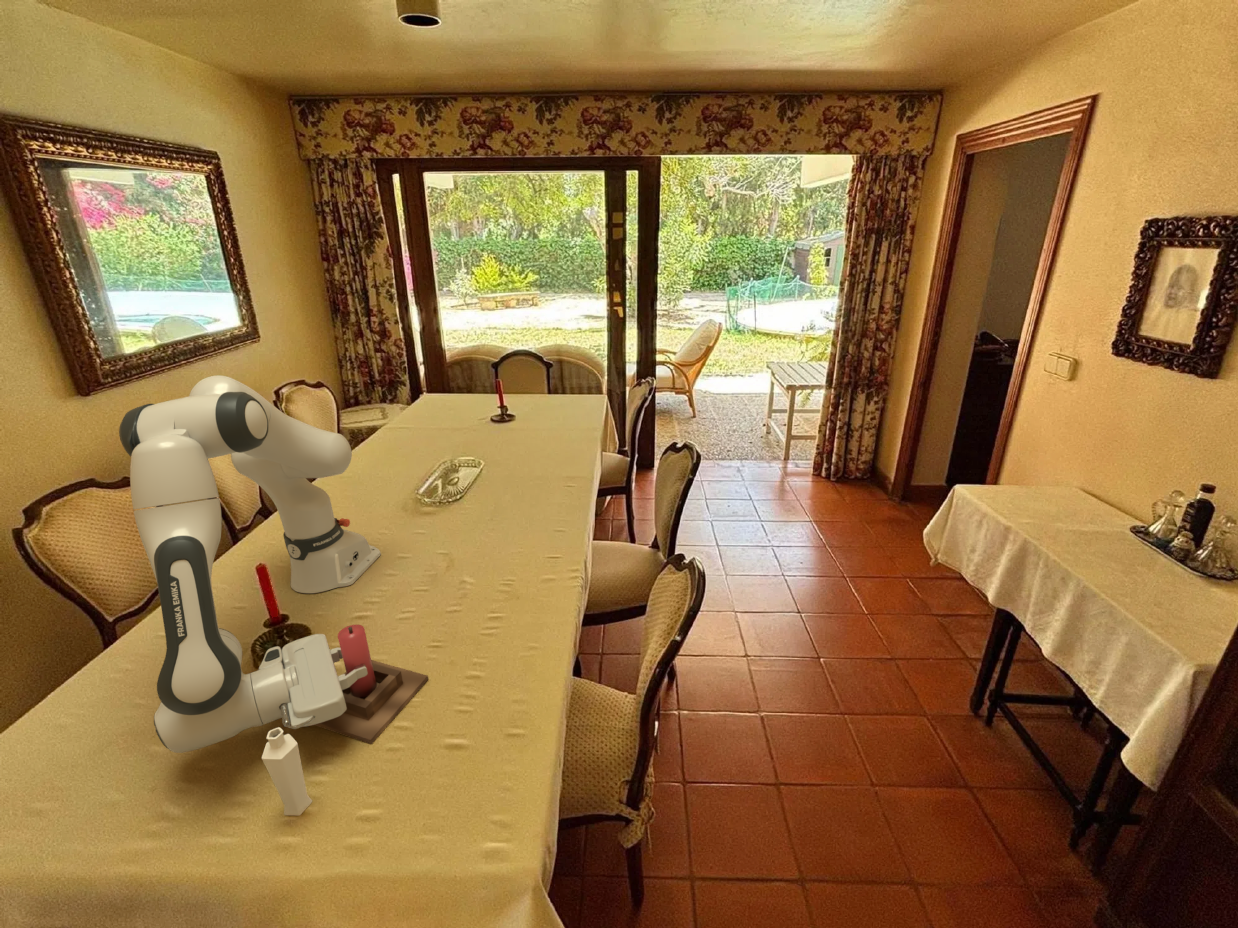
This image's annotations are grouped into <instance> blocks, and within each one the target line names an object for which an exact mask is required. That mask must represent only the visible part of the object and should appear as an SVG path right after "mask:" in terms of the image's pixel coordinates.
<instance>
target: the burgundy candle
mask: <svg viewBox="0 0 1238 928" xmlns="http://www.w3.org/2000/svg"><path fill="white" fill-rule="evenodd" d="M337 640H338V643H339V648H341V652H342V656H343V658H342V660H343V665H344V668H345V672H346V673H347V674H349V673H350V672H352V671H353V670H354V669H355V668H354V666H357V665H360V664H362V663H363V664H365V666H366V668H367V672H368V674H367V675H366V676H364V677H362V678H359V679H358V680H357V681H355V682H354V683H353V684H352V685H351V686H350V689H351V694H352V695H353V696H354V697H357V698H361V697H366V696H368V695H370V694H371V693H372V692H373V691H374V690H375V689H376V687H377V684H376V679H375V675H374V670H373V666H372V661H371V660H372V657H371V652H370V648H369V644H368V643H369V642H368V640H367V634H366V630H365V627H364V626H363V625H361V624H351V625H347V626H345V627H344V628H342V629H341V630H339V632H338V633H337Z"/></svg>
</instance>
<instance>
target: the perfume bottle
mask: <svg viewBox="0 0 1238 928" xmlns="http://www.w3.org/2000/svg"><path fill="white" fill-rule="evenodd" d="M265 739H266V740H267V742H266V744H265V745H264V746H265V747H264V749H263V753H262V755H261V760H262V762H263V764H264V766H265V767H266V770H267V772H268V774H269V777H270V778H271V781H272V783H273V785H274V787H275V789H276V791H277V792H278V795H279V797H280V799H281V801H282V803H283V805H284V806H283V809H284V810H283V815H284V816H301V815H302V813H304V812H305V810H306V809H307V808H308V807H309V806H310V805H311V804H312V803H313V799H312V798H311V797H310V796H309V795H308V792H307V786H306V782H305V781H306V780H305V776H304V771H303V766H302V760H301V756H300V755H301V754H300V751H299V750H300V748H299V745H298V742H297V740H295V738H294V737H293V736H292V735H291V734H290V733H286V734H284V730H283V729H282V728H281V727H279V726H278V727H275V728H273V729H270V730H269V731H268V732H267V735H266V738H265Z"/></svg>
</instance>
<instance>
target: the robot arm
mask: <svg viewBox="0 0 1238 928" xmlns="http://www.w3.org/2000/svg"><path fill="white" fill-rule="evenodd" d="M118 429H119V430H118V434H119V435H118V437H119V440H120V442H121V445H122V447H123V449H124V450H125V452H126V453H127V455H129V456H130V467H129V468H130V469H129V471H130V473H129V476H130V477H129V481H130V483H129V484H130V494H131V495H130V498H131V503H132V509H133V515H134V516H133V517H134V520H135V524H136V527H137V530H138V533H139V536H140V540H141V543H142V545H143V548H144V550H145V553H146V555H147V558H148V562H149V563H150V567H151V569H152V571H153V574H154V575H153V576H154V578H155V580H156V581H155V582H156V583H157V589H158V594H159V595H158V596H159V601H160V607H161V609H160V610H161V615H162V620H163V627H164V634H165V635H164V636H165V642H166V644H165V645H166V651H165V657H164V660H163V663H162V666H161V668H160V671H159V674H158V678H157V682H156V692H157V696H158V698H159V700H160V704H159V706H158V708H157V710H156V711H155V713H154V716H153V725H154V728H155V733H156V735H157V737H158V739H159V741H160V742H161V743H162V745H163V746H164V747H165V748H166V749H168V750H169V751H170V752H173V753H177V754H182V753H188V752H193V751H196V750H200V749H203V748H206V747H209V746H212V745H215V744H217V743H221V742H223V741H226V740H229V739H232V738H233V737H235V736H237V735H238V734H239V733H241V732H243V731H245V730H247V729H250V728H254V727H261V726H263V725H266V724H270V723H272V722H274V721H276V720H280V719H282V725H283V727H285V728H288V729H293V730H297V729H299V728H302V727H309V726H316V725H315V724H318V723H321V722H325V721H328V720H331V719H333V718H336V717H339V716H341V715H342V714H343V713H344V712H345V711H346V709H347V707H346V703H345V699H344V696H343V692H342V690H344V689H346V688H349V687H350V686H351V685H352V684H353V683H354V682H355V681H357V680H358V679H359V678H362V677H364V676H366V675H367V674H368V672H367V668H366V666H365V664H363V663H362V664H360V665H357V666H354V668H355V669H354V670H353V671H352V672H350V673H349V674H347V675H346V676H345V674H344V673H342V674H340V675H338V673H337V670H336V666H335V663H338V662H340V661H341V659H342V660H343V656H342V652H341V648H340V647H335V648H332V649H330V647H329V644H328V643H329V642H328V640H327V637H326V635H325V634H324V633H315V634H311V635H308V636H304V637H302V638H298V639H296V640H293V641H290V642H289V643H287V644H285V645H284V646H283V647H282V648H281V646H278V645H277V646H273V647H270V648H268V649H267V650H266V652H265V654H264V657H263V659H262V661H261V663H260V665H259V667H258V669H257V670H256V671H253V672H250V673H246V674H245V673H244V672H243V670H242V660H243V648H242V645H241V643H240V641H239V639H238V638H237V637H236V636H235V635H234V633H232V632H231V631H229V630H227V629H224V628H220V627H219V623H218V618H217V611H216V606H215V600H214V599H215V598H214V593H213V587H212V573H213V564H214V560H215V558H216V555H217V551H218V548H219V546H220V545H219V544H220V542H221V536H222V508H221V502H220V500H221V499H220V498H219V497H220V495H219V491H218V485H217V483H216V479H215V476H214V472H213V470H212V466H211V464H210V461H209V459H214V458H217V457H218V458H219V457H223V456H227V455H230V459H231V463H232V465H233V468H235V470H236V471H237V472H238V473H239V474H240V475H243V476H244V477H246V478H248V479H250V480H252V481H253V482H254V483H255V484H256V485H258V487H259V486H260V488H261V489H262V490H263V491H264V492H265V493H266V494H267V495H268V497H269V498H270V499H271V500H272V502H273V503H274V506H275V508H276V509H277V511H278V515H279V519H280V521H281V525H282V528H283V535H282V537H283V539H284V544H285V545H284V546H285V548H286V550H287V552H288V555H289V561H290V587H291V589H292V590H293V591H295V592H298V593H300V594H317V593H323V592H327V591H329V590H333V589H336V588H342V587H348V586H351V585H353V584H354V583H355V582H356V581H357V580H358V579H359V578H360V577H361V576H362V575H363V574H364V573H365V571H367V570H368V569H369V568H370V567H371V565H372V564H374V562H375V561H377V559H378V558H379V557H380V556H381V555H382V554H381V550H380V549H379V548H377V547H376V546H374V545H370V544H369V542H368V540H367V538H366V537H365V536H363V535H362V534H360V533H358V532H355V531H351V530H347V529H343V527H345V528H347V527H348V528H349V526H351V525H350V524H351V521H350V519H348V518H343V517H342V518H340V519H338V518H336V517H335V515H334V510H333V506H332V501H331V496H330V495H329V494H328V492H327V491H326V490H324V489H323V488H322V487H319V486H317V485H316V484H313V483H312V482H310V481H309V479H322V478H328V477H334V476H338V475H342V474H343V473H345V472H346V470H347V469H348V467H349V466H350V465H351V461H352V452H353V451H352V448H351V445H350V443H349V440H347V438H346V437H345V436H344V435H342V434H341V433H338V432H333V431H328V430H325V429H321V428H318V427H316V426H314V425H311V424H308V423H306V422H304V421H301V420H299V419H296V418H295V417H292V416H289V415H287V414H286V413H284V412H282V411H281V410H280V409H279V408H277V407H276V406H275V405H274V404H273V403H271V402H270V401H269V400H267V399H266V398H265V397H264V396H263V395H261V394H260V393H259V392H257V391H256V390H254V389H253V388H251V387H249V386H248V385H246V384H245V383H242V382H241V381H239V380H237V379H234V378H233V377H231V376H226V375H220V374H219V375H218V374H217V375H212V376H207V377H205V378H203V379H201V380H199V381H198V382H197V383H196V384H194V386H193V387H192V389H191V391H190V392H189V395H188V396H184V397H180V398H175V399H171V400H170V399H169V400H167V401H162V402H158V403H146V404H144V405H140V406H137V407H135V408H133V409H130V410H129V411H127V412H126V413H125V414H124V416H123V418H122V420H121V422H120V424H119V427H118Z"/></svg>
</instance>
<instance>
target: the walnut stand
mask: <svg viewBox="0 0 1238 928" xmlns="http://www.w3.org/2000/svg"><path fill="white" fill-rule="evenodd" d="M371 661H372V666H373V670H374V675H375V679H376V684H377V687H376V689H375V690H374V691H373V692H372V693H371V694H370V695H368V696H366V697H361V698H357V697H354V696H353V695H352V694H351V689H350V687H349V688H346V689H344V690H342V692H343V696H344V699H345V703H346V707H347V709H346V711H345V712H344V713H343V714H342V715H341V716H339V717H336V718H333V719H331V720H328V721H325V722H321V723H318V724H315V725H314V726H316V727H319V728H322V729H325V730H328V731H331V732H334V733H336V734H340V735H343V736H346V737H349V738H351V739H355V740H357V741H361V742H363V743H367V744H370V745H372V744H373V743H374V742H375V741H376V740H377V738H379V736H380V735H381V734H382V733H383V732H384V730H386V728H388V727H389V725H390V724H391V723H392V721H394V720H395V718H396V717H397V716H398V715H399V714H400V713H401V712H402V710H403V709H404V708H405V707H406V706H407V705H408V703H409V702H410V701H411V700H412V699H413V698H414V697H415V695H416V694H417V693H418V692H419V691H420V690H422V689H421V688H423V687H424V686H425V685H426V683H427V682H428V681H429V675H427V674H424V673H421V672H418V671H417V672H416V671H413V670H408V669H406V668H401V667H398V666H394V665H391V664H388V663H384V662H381V661H377V660H374V659H371ZM343 674H345V676H346V675H347V673H346V671H345V672H344V673H343Z"/></svg>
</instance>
